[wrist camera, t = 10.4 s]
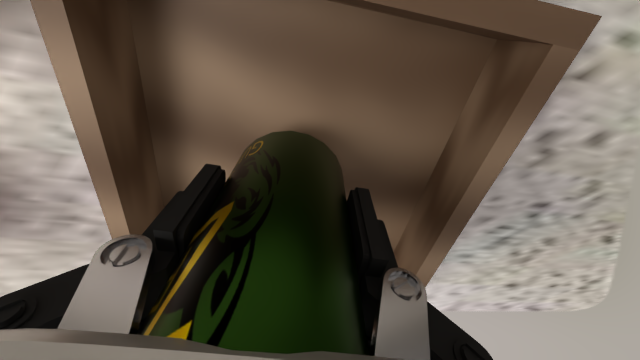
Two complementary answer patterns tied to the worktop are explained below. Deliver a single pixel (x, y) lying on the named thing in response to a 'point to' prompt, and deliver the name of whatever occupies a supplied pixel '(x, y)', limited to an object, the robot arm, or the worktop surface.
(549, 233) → the worktop surface
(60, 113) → the worktop surface
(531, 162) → the worktop surface
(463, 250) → the worktop surface
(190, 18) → the box
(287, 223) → the beer can
